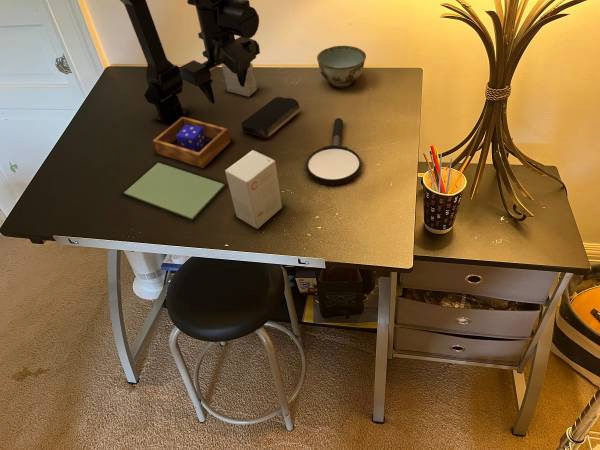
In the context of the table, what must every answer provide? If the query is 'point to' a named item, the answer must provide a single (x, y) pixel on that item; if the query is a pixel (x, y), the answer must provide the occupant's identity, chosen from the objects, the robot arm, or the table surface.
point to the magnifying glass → (334, 161)
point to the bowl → (341, 64)
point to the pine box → (188, 156)
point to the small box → (254, 188)
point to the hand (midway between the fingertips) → (227, 94)
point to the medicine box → (235, 86)
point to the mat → (175, 190)
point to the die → (191, 138)
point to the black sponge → (271, 117)
